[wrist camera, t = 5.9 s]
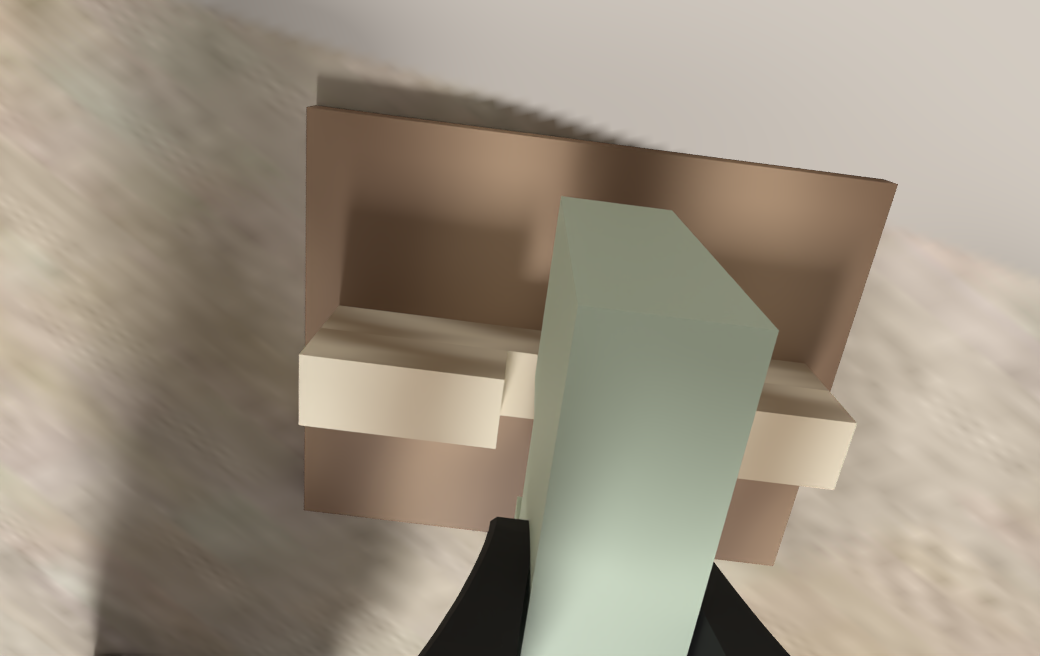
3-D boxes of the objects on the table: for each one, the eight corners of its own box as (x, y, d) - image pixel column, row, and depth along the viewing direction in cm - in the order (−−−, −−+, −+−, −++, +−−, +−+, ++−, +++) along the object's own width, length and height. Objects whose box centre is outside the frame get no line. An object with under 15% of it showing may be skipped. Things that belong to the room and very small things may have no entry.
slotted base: (311, 495, 24) (263, 587, 19) (315, 105, 19) (253, 118, 15) (765, 550, 24) (812, 651, 20) (883, 179, 19) (977, 212, 15)
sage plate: (584, 635, 19) (607, 936, 12) (498, 625, 19) (477, 922, 12) (672, 210, 15) (778, 330, 8) (561, 195, 15) (577, 305, 8)
